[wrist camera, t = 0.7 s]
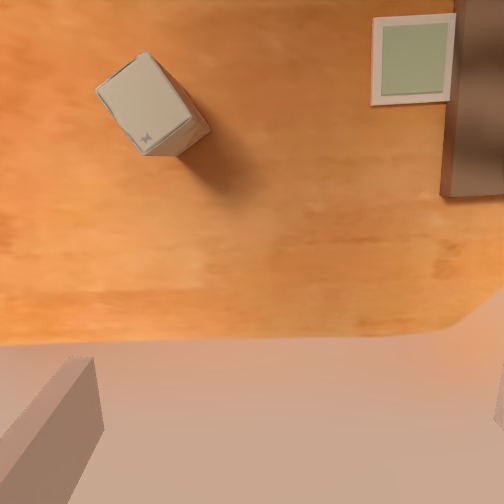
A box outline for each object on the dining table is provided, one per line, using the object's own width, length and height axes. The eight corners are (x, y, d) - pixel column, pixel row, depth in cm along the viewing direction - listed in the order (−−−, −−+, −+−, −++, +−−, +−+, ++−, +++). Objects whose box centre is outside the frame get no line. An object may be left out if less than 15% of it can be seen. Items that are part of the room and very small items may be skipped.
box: (212, 130, 35) (196, 121, 24) (175, 158, 35) (144, 161, 25) (177, 79, 33) (145, 46, 23) (139, 108, 34) (90, 89, 23)
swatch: (372, 19, 32) (375, 16, 32) (453, 14, 32) (458, 11, 32) (369, 105, 34) (372, 104, 33) (446, 101, 34) (451, 100, 33)
